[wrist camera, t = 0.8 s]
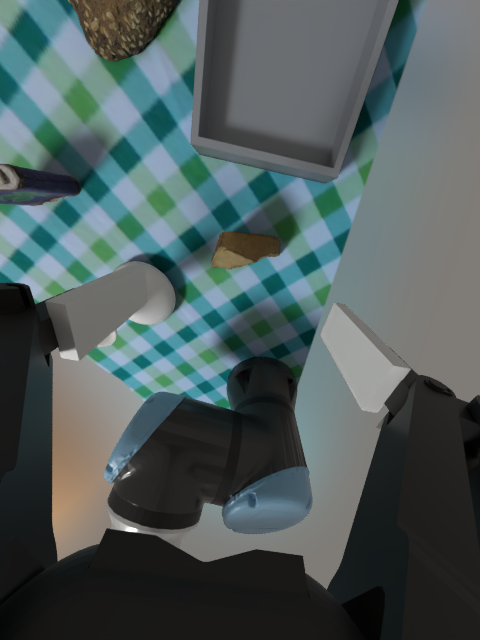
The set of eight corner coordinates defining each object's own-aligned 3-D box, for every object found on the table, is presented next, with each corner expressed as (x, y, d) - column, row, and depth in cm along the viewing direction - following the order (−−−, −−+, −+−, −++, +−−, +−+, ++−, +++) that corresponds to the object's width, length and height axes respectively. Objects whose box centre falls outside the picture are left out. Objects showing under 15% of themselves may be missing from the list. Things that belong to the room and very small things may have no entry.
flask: (31, 208, 31) (-65, 203, 22) (19, 185, 30) (-90, 170, 20) (84, 194, 30) (8, 184, 20) (74, 171, 29) (-14, 147, 19)
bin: (325, 183, 28) (337, 177, 24) (199, 154, 27) (190, 143, 23) (416, -99, 18) (463, -188, 14) (224, -158, 17) (216, -270, 13)
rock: (298, 225, 29) (232, 192, 26) (295, 273, 25) (218, 241, 22) (263, 268, 38) (212, 248, 35) (257, 308, 34) (200, 288, 32)
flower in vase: (184, 272, 35) (66, 372, 12) (172, 327, 40) (73, 467, 17) (106, 246, 33) (-183, 305, 11) (104, 306, 38) (-97, 430, 16)
